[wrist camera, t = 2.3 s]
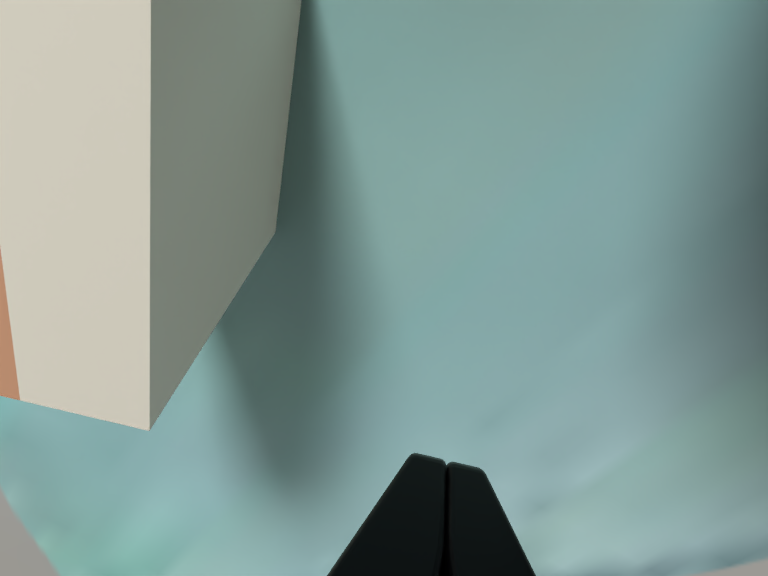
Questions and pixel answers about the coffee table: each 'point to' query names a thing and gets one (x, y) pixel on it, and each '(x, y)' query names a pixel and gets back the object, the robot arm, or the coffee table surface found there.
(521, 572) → the robot arm
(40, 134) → the cream rectangular block
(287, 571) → the coffee table surface
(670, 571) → the coffee table surface
